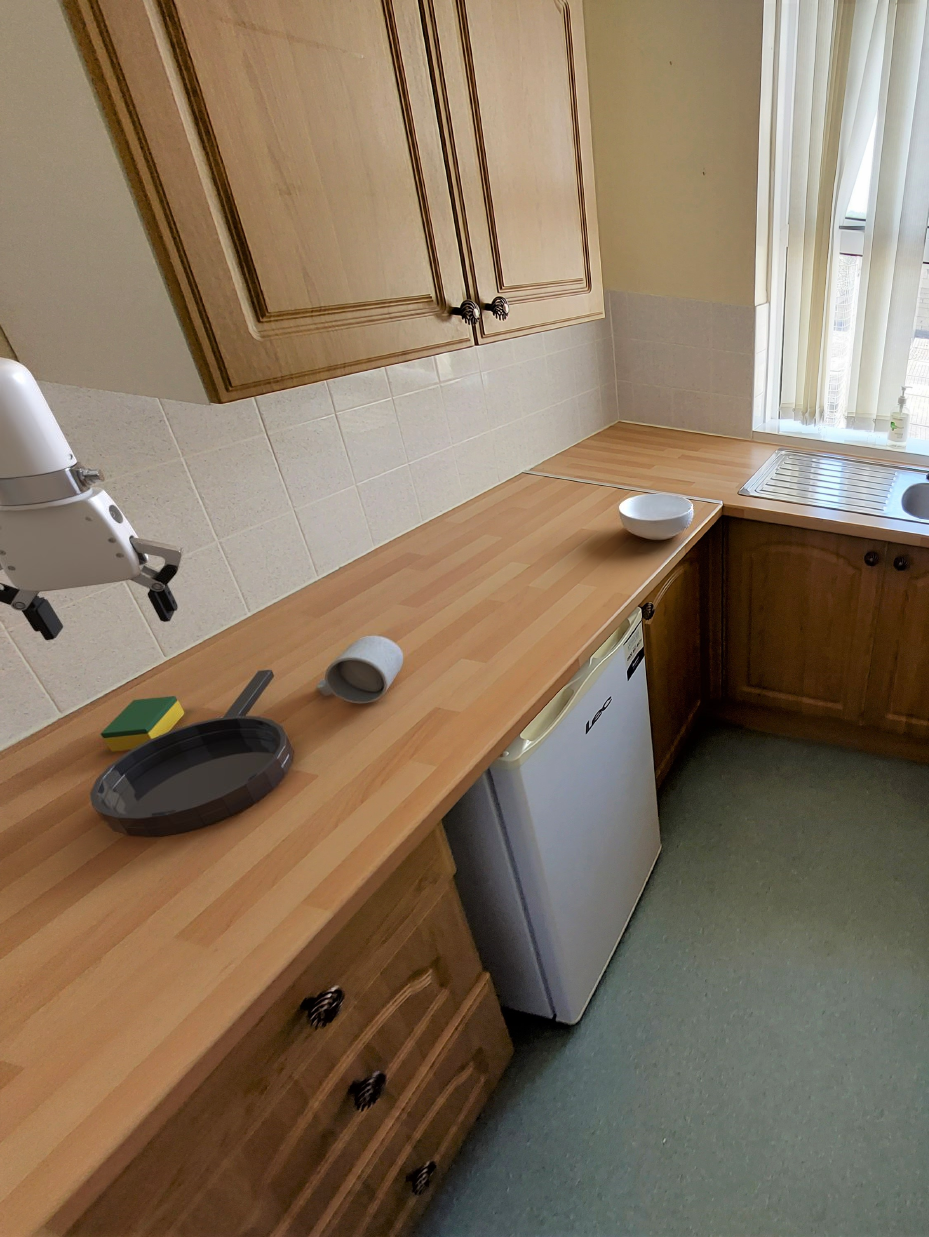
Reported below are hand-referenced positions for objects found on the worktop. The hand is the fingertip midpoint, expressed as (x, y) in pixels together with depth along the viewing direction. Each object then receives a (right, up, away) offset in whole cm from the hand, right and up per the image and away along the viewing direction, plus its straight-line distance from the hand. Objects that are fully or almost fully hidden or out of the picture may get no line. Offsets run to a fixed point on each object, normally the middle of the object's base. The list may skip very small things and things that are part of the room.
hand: (113, 625), depth 76 cm
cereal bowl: (+44, +21, +76) cm, 91 cm away
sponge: (-5, -14, +9) cm, 17 cm away
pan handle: (+5, -10, +12) cm, 17 cm away
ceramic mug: (+16, -10, +19) cm, 27 cm away
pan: (+9, -19, +2) cm, 21 cm away
